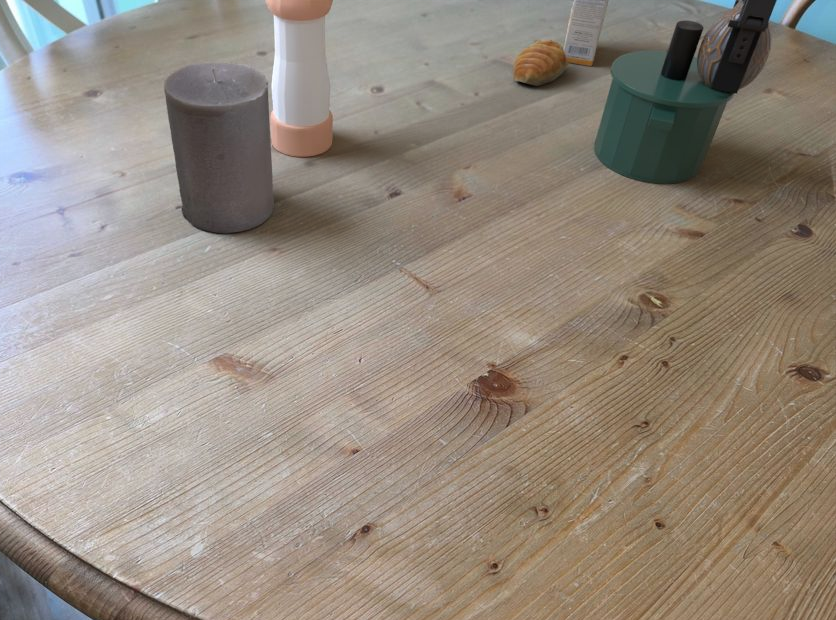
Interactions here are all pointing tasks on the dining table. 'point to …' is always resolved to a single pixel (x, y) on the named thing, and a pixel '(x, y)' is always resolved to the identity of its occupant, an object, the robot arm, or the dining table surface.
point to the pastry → (540, 63)
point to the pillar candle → (221, 145)
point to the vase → (716, 44)
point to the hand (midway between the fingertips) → (725, 75)
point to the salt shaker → (300, 78)
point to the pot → (654, 137)
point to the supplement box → (584, 30)
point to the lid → (669, 73)
